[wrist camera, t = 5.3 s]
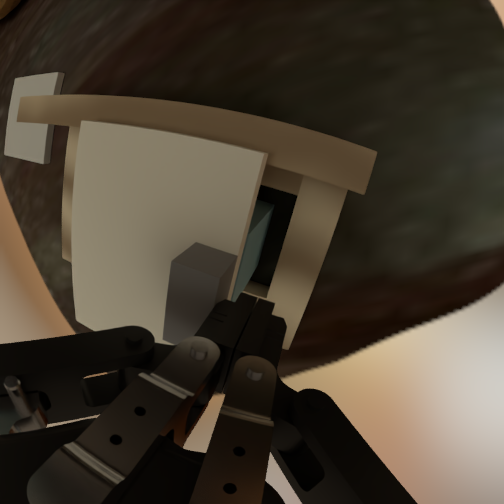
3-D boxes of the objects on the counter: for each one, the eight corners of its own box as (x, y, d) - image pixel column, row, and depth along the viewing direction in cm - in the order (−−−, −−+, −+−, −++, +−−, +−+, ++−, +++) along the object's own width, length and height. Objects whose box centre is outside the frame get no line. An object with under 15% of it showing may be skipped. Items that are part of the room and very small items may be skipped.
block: (212, 186, 22) (159, 206, 15) (274, 204, 22) (249, 234, 14) (200, 245, 24) (149, 287, 17) (258, 264, 24) (227, 317, 16)
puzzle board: (89, 100, 22) (20, 96, 14) (355, 151, 19) (377, 151, 11) (74, 251, 28) (18, 281, 20) (290, 336, 25) (274, 406, 17)
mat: (21, 78, 23) (15, 78, 22) (64, 73, 21) (58, 72, 21) (9, 153, 26) (4, 154, 26) (50, 162, 25) (43, 164, 24)
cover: (93, 120, 13) (48, 120, 10) (268, 153, 12) (249, 154, 9) (84, 313, 18) (54, 337, 15) (212, 373, 17) (192, 412, 14)
